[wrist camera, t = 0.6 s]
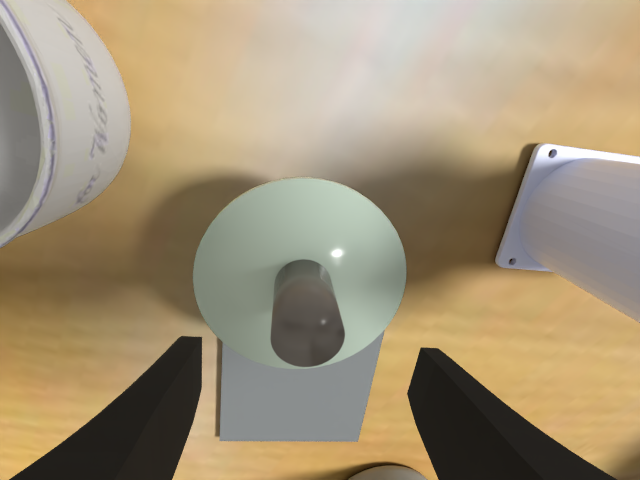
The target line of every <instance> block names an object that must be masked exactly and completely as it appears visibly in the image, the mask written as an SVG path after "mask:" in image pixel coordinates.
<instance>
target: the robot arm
mask: <svg viewBox="0 0 640 480" xmlns="http://www.w3.org/2000/svg"><path fill="white" fill-rule="evenodd" d="M550 150H552V154H551V155H550V156H548V154H549V152H550ZM510 259H512V261H511V262H509V260H510ZM495 262H496V264H497V265H498V266H500V267H502V268H513V269H525V270H537V271H549V272H554V273H556V274H558V275H560V276H561V277H563V278H565V279H566V280H568V281H570V282H571V283H573V284H575V285H576V286H578V287H580V288H581V289H583V290H585V291H587V292H588V293H590V294H592V295H593V296H595V297H597V298H598V299H600V300H602V301H603V302H605V303H607V304H609V305H610V306H612V307H614V308H615V309H617V310H619V311H620V312H622V313H624V314H625V315H627V316H629V317H630V318H632V319H634V320H636V321H637V322H639V323H640V157H638V156H631V155H624V154H617V153H610V152H603V151H596V150H589V149H582V148H575V147H568V146H561V145H554V144H547V143H541V144H539V145H537V146H536V147H535V148H534V150H533V153H532V156H531V158H530V161H529V164H528V167H527V170H526V173H525V176H524V178H523V181H522V184H521V187H520V190H519V193H518V196H517V198H516V201H515V204H514V207H513V210H512V213H511V216H510V218H509V221H508V224H507V227H506V230H505V233H504V236H503V238H502V241H501V244H500V247H499V250H498V253H497V256H496V258H495ZM201 388H202V337H188V336H181V337H180V338H178V339H177V340H176V341H175V342H174V343H173V344H172V345H171V347H170V348H169V349H168V350H167V351H166V352H165V353H164V354H163V355H162V356H161V357H160V358H159V359H158V360H157V361H156V362H155V363H154V364H153V365H152V366H151V367H150V368H149V369H148V370H147V371H146V372H145V373H143V374H142V375H141V376H140V377H139V378H138V379H137V380H136V381H135V382H134V383H133V384H132V385H131V386H130V387H129V388H128V389H126V390H125V391H124V392H123V393H122V394H121V395H120V396H118V397H117V398H116V399H115V400H114V401H113V402H112V403H110V404H109V405H108V406H107V407H106V408H105V409H103V410H102V411H101V412H100V413H99V414H98V415H96V416H95V417H94V418H93V419H91V420H90V421H89V422H88V423H87V424H85V425H84V426H83V427H81V428H80V429H79V430H78V431H76V432H75V433H74V434H72V435H71V436H70V437H69V438H67V439H66V440H65V441H63V442H62V443H61V444H59V445H58V446H57V447H55V448H54V449H53V450H51V451H50V452H48V453H47V454H45V455H44V456H43V457H41V458H40V459H38V460H37V461H36V462H34V463H33V464H31V465H30V466H28V467H27V468H25V469H24V470H22V471H21V472H20V473H18V474H17V475H15V476H14V477H12V478H11V479H9V480H172V478H173V476H174V473H175V470H176V468H177V465H178V462H179V459H180V457H181V454H182V451H183V449H184V446H185V443H186V440H187V438H188V435H189V432H190V429H191V426H192V424H193V420H194V417H195V413H196V409H197V405H198V401H199V397H200V393H201ZM407 394H408V398H409V402H410V406H411V409H412V413H413V416H414V420H415V423H416V426H417V428H418V431H419V433H420V436H421V438H422V441H423V443H424V446H425V448H426V451H427V453H428V455H429V458H430V460H431V462H432V465H433V467H434V470H435V472H436V474H437V477H438V479H439V480H617V479H615V478H613V477H612V476H610V475H608V474H607V473H605V472H603V471H602V470H600V469H599V468H597V467H595V466H594V465H592V464H590V463H589V462H587V461H585V460H584V459H582V458H581V457H579V456H578V455H576V454H575V453H573V452H571V451H570V450H568V449H567V448H566V447H564V446H563V445H561V444H560V443H558V442H557V441H555V440H554V439H552V438H551V437H549V436H548V435H546V434H545V433H544V432H542V431H541V430H539V429H538V428H537V427H535V426H534V425H532V424H531V423H530V422H528V421H527V420H526V419H524V418H523V417H522V416H521V415H519V414H518V413H517V412H515V411H514V410H513V409H511V408H510V407H509V406H508V405H506V404H505V403H504V402H502V401H501V400H500V399H499V398H497V397H496V396H495V395H494V394H493V393H491V392H490V391H489V390H488V389H486V388H485V387H484V386H483V385H482V384H480V383H479V382H478V381H477V380H476V379H475V378H473V377H472V376H471V375H470V374H469V373H467V372H466V371H465V370H464V369H463V368H462V367H460V366H459V365H458V364H457V363H456V362H454V361H453V360H452V359H451V358H450V357H448V356H447V355H446V354H445V353H443V352H442V351H441V350H439V349H438V348H421V349H420V352H419V356H418V359H417V362H416V366H415V369H414V373H413V376H412V379H411V383H410V386H409V390H408V393H407Z"/></svg>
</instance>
